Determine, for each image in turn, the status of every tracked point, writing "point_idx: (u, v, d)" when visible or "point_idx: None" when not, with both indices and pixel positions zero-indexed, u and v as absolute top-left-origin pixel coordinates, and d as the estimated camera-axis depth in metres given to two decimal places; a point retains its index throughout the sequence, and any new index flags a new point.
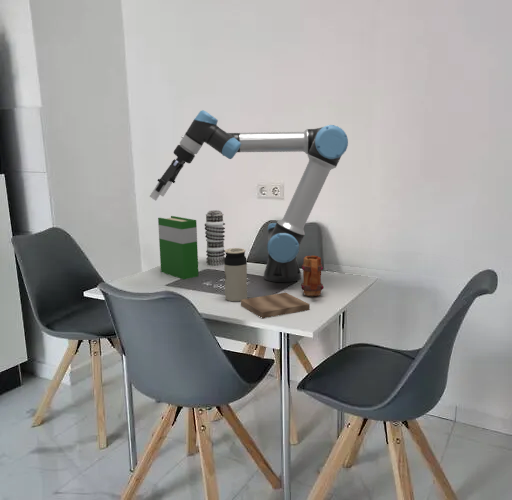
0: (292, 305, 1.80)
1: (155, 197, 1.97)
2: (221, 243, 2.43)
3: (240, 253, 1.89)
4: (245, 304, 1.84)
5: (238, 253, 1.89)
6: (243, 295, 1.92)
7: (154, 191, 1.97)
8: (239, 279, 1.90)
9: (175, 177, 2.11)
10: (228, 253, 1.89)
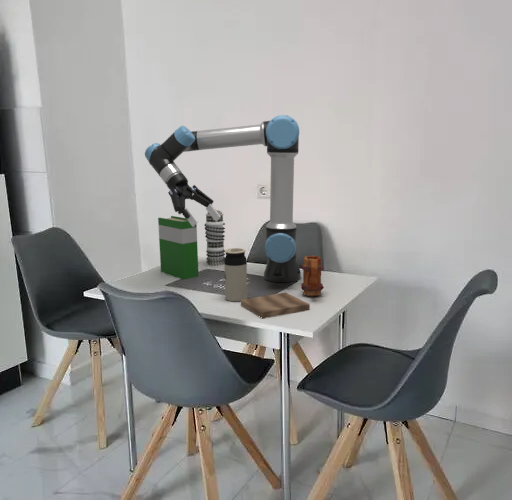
0: (292, 305, 1.80)
1: (194, 221, 1.91)
2: (221, 243, 2.43)
3: (240, 253, 1.89)
4: (245, 304, 1.84)
5: (238, 253, 1.89)
6: (243, 295, 1.92)
7: (189, 220, 1.92)
8: (239, 279, 1.90)
9: (209, 199, 2.05)
10: (228, 253, 1.89)
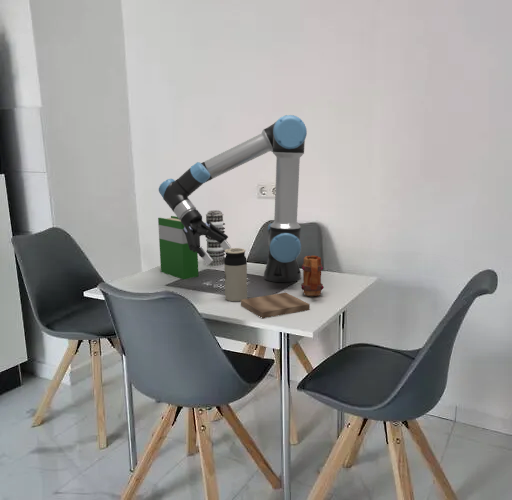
0: (292, 305, 1.80)
1: (209, 259, 1.89)
2: None
3: (240, 253, 1.89)
4: (245, 304, 1.84)
5: (238, 253, 1.89)
6: (243, 295, 1.92)
7: (204, 258, 1.90)
8: (239, 279, 1.90)
9: (223, 235, 2.03)
10: (228, 253, 1.89)
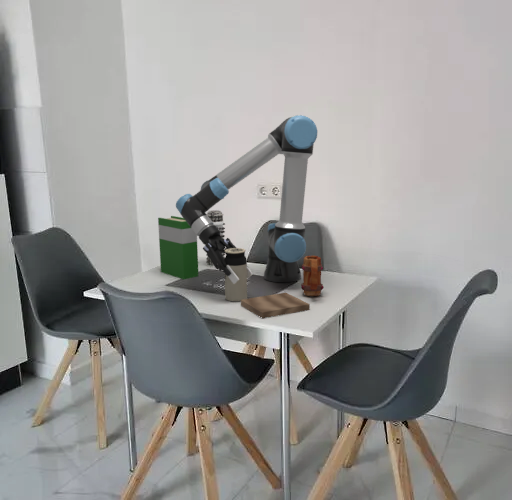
0: (292, 305, 1.80)
1: (235, 278, 1.88)
2: None
3: (240, 253, 1.89)
4: (245, 304, 1.84)
5: (238, 253, 1.89)
6: (243, 295, 1.92)
7: (230, 277, 1.89)
8: (239, 279, 1.90)
9: None
10: (228, 253, 1.89)
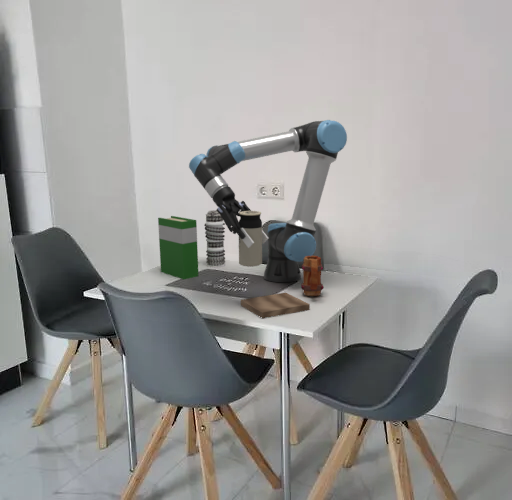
0: (292, 305, 1.80)
1: (250, 242, 1.79)
2: (221, 243, 2.43)
3: (255, 215, 1.80)
4: (245, 304, 1.84)
5: (253, 215, 1.79)
6: (257, 260, 1.83)
7: (244, 240, 1.80)
8: (254, 243, 1.81)
9: None
10: (243, 215, 1.80)
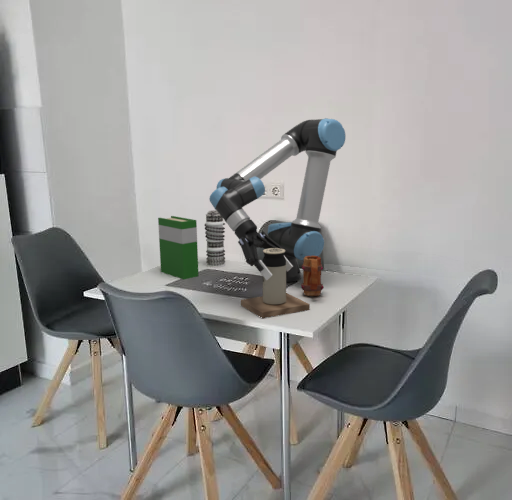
0: (292, 305, 1.80)
1: (268, 274, 1.75)
2: (221, 243, 2.43)
3: (280, 253, 1.78)
4: (245, 304, 1.84)
5: (278, 253, 1.78)
6: (282, 298, 1.81)
7: (262, 273, 1.76)
8: (279, 281, 1.79)
9: (278, 246, 1.89)
10: (267, 253, 1.78)
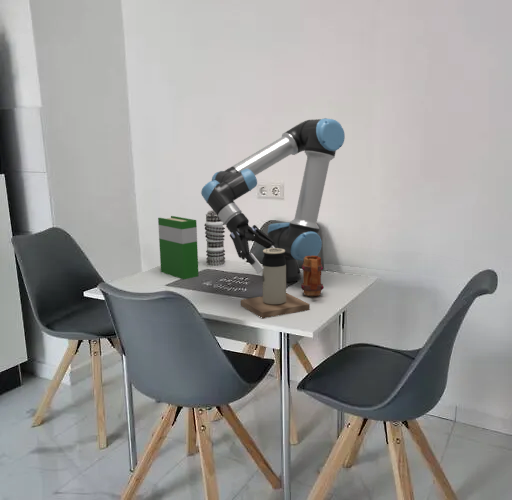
0: (292, 305, 1.80)
1: (259, 267, 1.76)
2: (221, 243, 2.43)
3: (280, 253, 1.78)
4: (245, 304, 1.84)
5: (278, 253, 1.78)
6: (282, 298, 1.81)
7: (254, 266, 1.77)
8: (279, 281, 1.79)
9: (270, 240, 1.90)
10: (267, 253, 1.78)
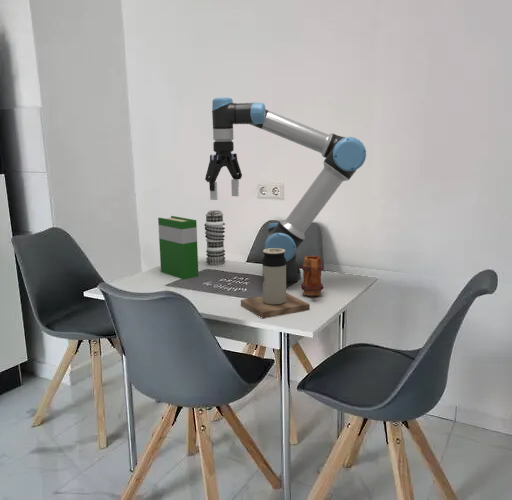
0: (292, 305, 1.80)
1: (214, 197, 1.99)
2: (221, 243, 2.43)
3: (280, 253, 1.78)
4: (245, 304, 1.84)
5: (278, 253, 1.78)
6: (282, 298, 1.81)
7: (211, 192, 1.99)
8: (279, 281, 1.79)
9: (239, 173, 2.10)
10: (267, 253, 1.78)
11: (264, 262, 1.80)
